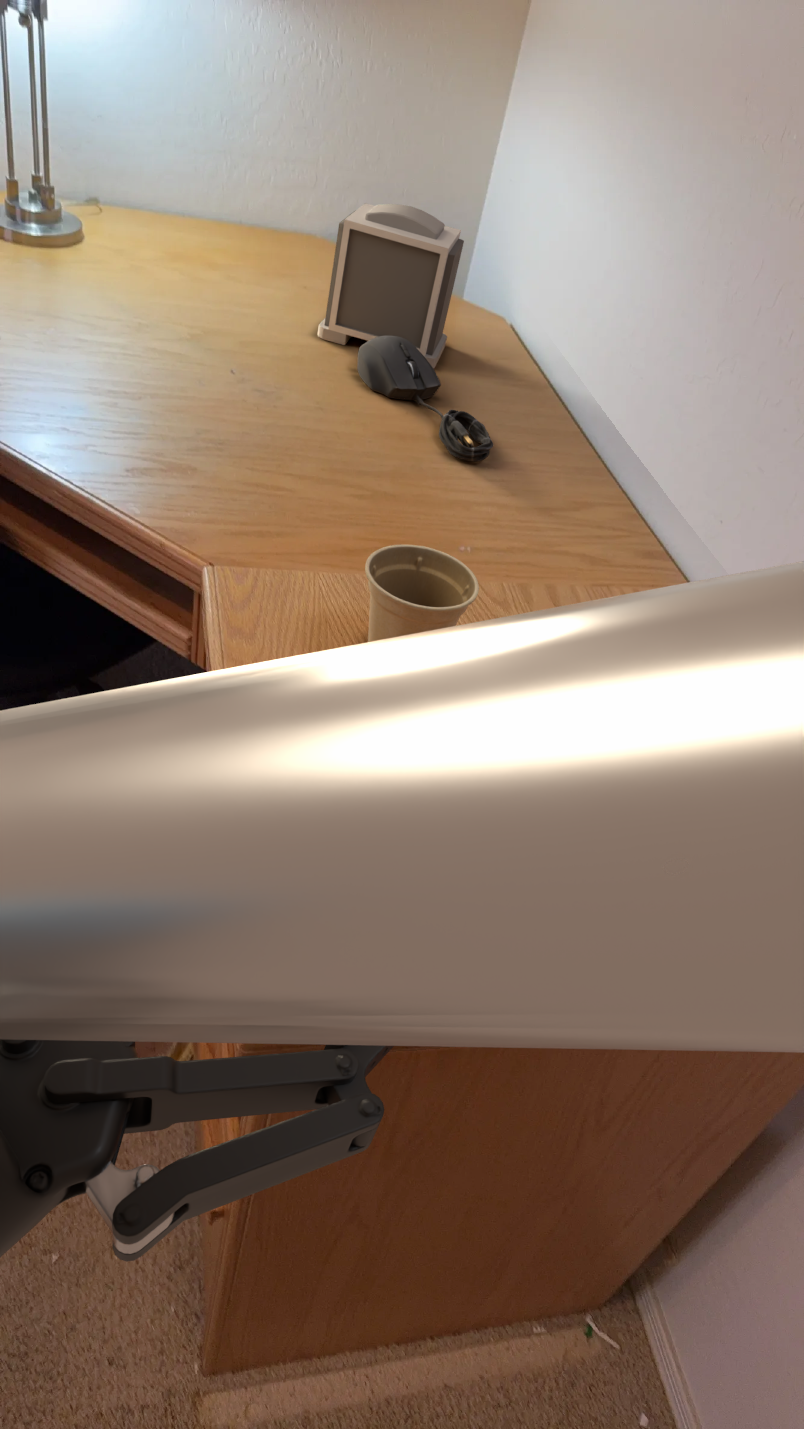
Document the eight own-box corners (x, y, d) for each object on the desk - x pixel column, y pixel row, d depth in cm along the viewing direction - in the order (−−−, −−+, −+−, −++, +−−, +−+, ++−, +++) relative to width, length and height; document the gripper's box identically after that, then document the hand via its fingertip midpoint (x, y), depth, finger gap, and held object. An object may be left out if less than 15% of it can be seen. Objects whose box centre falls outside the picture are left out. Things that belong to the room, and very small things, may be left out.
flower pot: (334, 627, 78) (350, 543, 72) (430, 623, 81) (452, 542, 76) (368, 697, 71) (388, 611, 66) (470, 688, 75) (498, 606, 70)
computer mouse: (394, 361, 131) (402, 323, 127) (513, 465, 112) (526, 424, 108) (338, 360, 126) (344, 321, 123) (452, 468, 107) (463, 426, 104)
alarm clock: (445, 344, 142) (475, 219, 130) (433, 370, 131) (464, 237, 120) (336, 313, 142) (356, 185, 130) (315, 336, 132) (334, 200, 120)
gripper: (-294, 1018, 34) (144, 770, 49) (117, 1589, 25) (506, 1078, 40) (-360, 904, 30) (148, 666, 44) (118, 1559, 21) (561, 990, 35)
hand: (319, 861), depth 42 cm, fingers open, 13 cm apart
